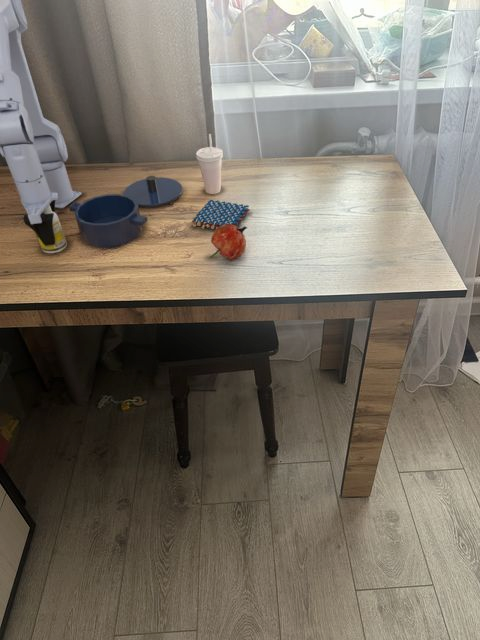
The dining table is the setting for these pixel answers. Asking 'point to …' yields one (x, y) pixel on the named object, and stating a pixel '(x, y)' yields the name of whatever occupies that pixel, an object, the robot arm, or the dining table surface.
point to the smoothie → (210, 167)
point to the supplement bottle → (58, 233)
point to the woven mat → (220, 214)
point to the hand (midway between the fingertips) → (51, 236)
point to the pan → (108, 220)
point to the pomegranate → (229, 241)
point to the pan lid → (154, 191)
